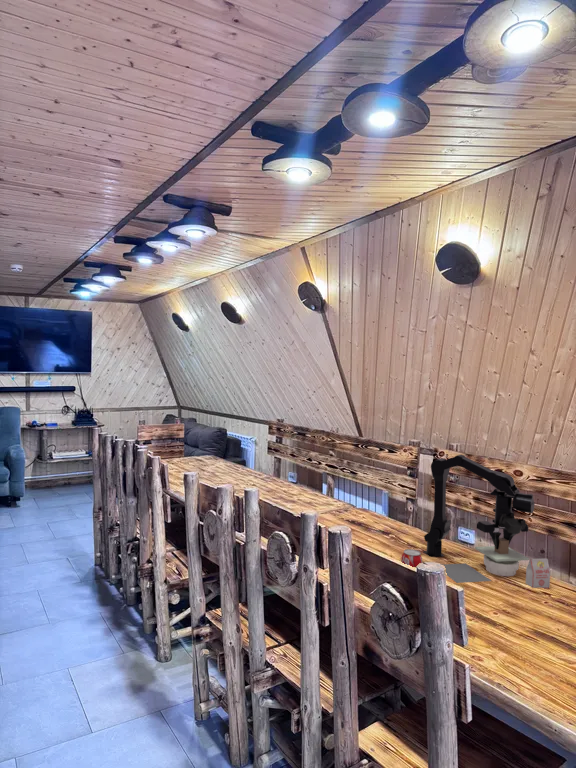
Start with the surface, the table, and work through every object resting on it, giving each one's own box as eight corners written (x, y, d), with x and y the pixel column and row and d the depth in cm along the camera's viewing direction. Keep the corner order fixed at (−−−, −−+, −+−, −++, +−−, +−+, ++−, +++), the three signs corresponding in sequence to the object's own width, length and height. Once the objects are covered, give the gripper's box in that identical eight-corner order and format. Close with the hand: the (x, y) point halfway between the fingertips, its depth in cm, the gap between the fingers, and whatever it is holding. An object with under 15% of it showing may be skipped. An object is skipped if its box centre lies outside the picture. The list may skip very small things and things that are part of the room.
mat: (433, 566, 197) (433, 564, 197) (465, 564, 201) (465, 563, 201) (456, 584, 181) (456, 582, 181) (491, 582, 184) (491, 580, 184)
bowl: (477, 566, 199) (477, 553, 199) (504, 565, 201) (505, 552, 201) (496, 578, 187) (496, 565, 187) (524, 577, 190) (525, 564, 190)
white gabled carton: (525, 584, 183) (526, 557, 183) (542, 584, 184) (543, 556, 184) (532, 589, 179) (533, 560, 179) (549, 588, 180) (550, 560, 180)
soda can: (421, 591, 173) (423, 556, 173) (400, 589, 175) (401, 554, 175) (420, 583, 180) (422, 549, 180) (400, 581, 182) (401, 547, 182)
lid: (475, 548, 199) (475, 534, 199) (505, 547, 202) (506, 533, 202) (496, 561, 186) (497, 545, 186) (528, 560, 189) (529, 544, 189)
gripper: (494, 514, 184) (492, 557, 184) (539, 513, 188) (537, 555, 188) (476, 506, 195) (474, 546, 195) (519, 505, 199) (517, 545, 199)
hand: (501, 548), depth 194 cm, fingers closed on lid, 3 cm apart
